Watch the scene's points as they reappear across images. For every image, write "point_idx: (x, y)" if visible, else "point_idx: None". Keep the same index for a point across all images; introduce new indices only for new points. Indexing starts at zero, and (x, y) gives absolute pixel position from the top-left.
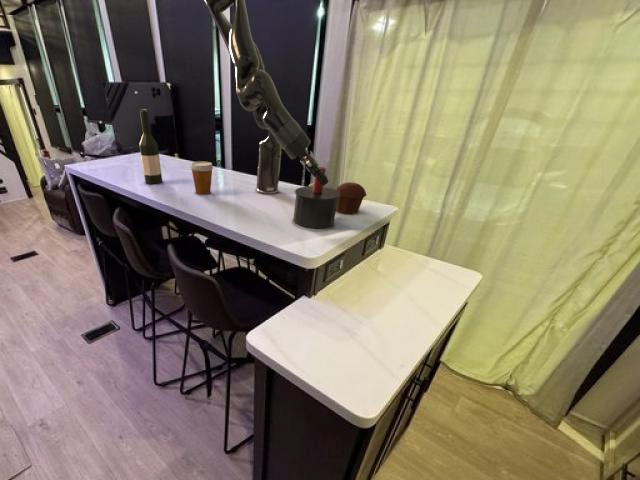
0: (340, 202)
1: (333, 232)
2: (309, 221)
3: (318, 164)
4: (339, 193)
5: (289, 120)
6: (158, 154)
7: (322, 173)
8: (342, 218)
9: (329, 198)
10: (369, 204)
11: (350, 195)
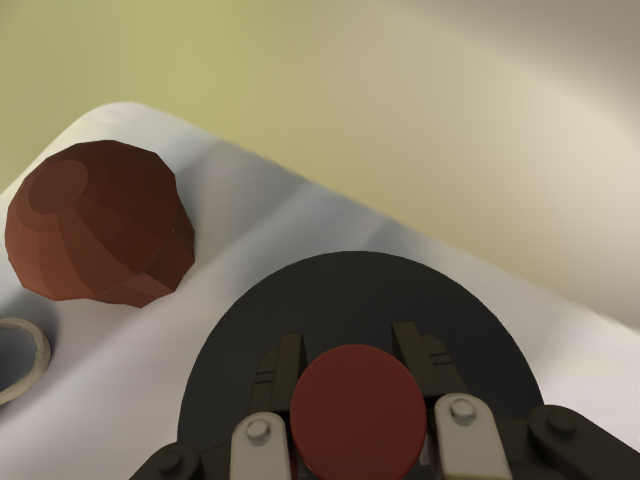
0: (159, 270)
1: None
2: None
3: (181, 463)
4: (340, 255)
5: None
6: None
7: (440, 388)
8: (252, 272)
9: (495, 320)
10: None
11: (165, 211)
